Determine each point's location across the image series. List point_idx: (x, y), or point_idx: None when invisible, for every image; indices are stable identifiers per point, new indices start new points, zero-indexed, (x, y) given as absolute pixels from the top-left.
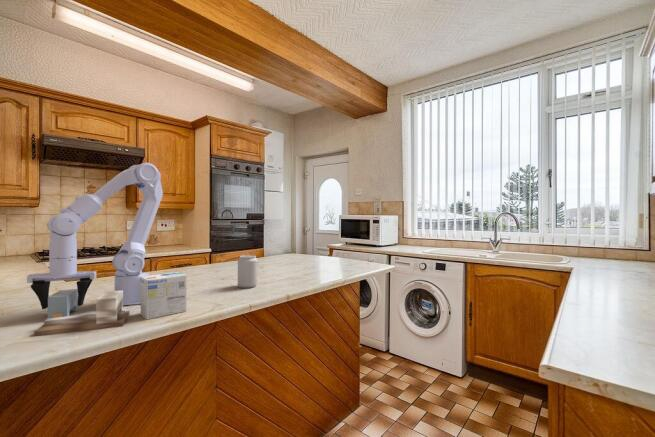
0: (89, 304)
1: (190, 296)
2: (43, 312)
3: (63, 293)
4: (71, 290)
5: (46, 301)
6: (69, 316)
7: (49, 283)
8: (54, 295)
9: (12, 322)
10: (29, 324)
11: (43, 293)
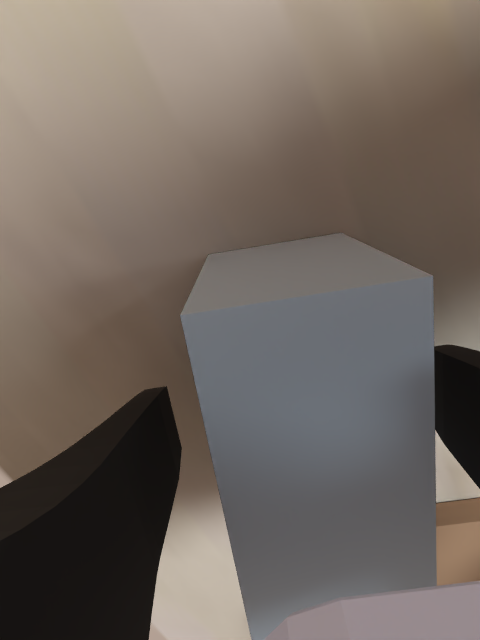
0: (388, 42)
1: None
2: (83, 265)
3: (340, 523)
4: (373, 371)
5: (160, 461)
6: None
7: (40, 549)
8: (277, 590)
9: None
10: (180, 522)
11: (145, 609)
